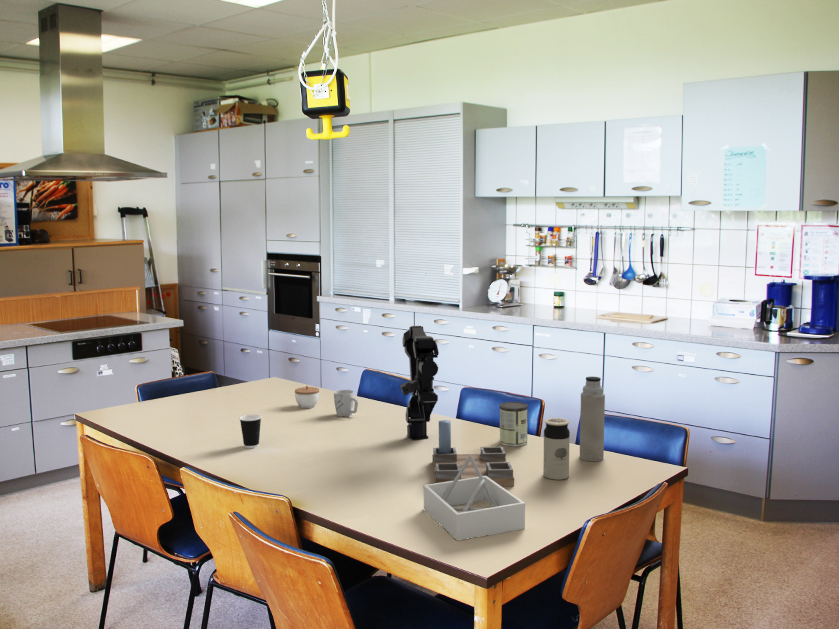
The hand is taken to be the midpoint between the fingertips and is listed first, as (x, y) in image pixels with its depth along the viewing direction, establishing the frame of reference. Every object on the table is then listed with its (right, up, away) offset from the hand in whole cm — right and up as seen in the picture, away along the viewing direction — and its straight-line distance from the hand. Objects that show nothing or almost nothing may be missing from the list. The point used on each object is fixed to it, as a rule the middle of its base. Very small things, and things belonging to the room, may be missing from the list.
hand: (424, 417), depth 252 cm
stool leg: (+7, -12, -12) cm, 18 cm away
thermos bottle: (+57, -13, -5) cm, 59 cm away
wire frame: (+11, -20, -54) cm, 59 cm away
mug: (-32, -7, +53) cm, 62 cm away
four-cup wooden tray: (+15, -15, -20) cm, 29 cm away
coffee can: (+33, -11, +13) cm, 37 cm away
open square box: (+13, -20, -56) cm, 60 cm away
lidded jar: (-51, -5, +69) cm, 86 cm away
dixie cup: (-63, -12, +11) cm, 65 cm away
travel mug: (+42, -16, -23) cm, 50 cm away
